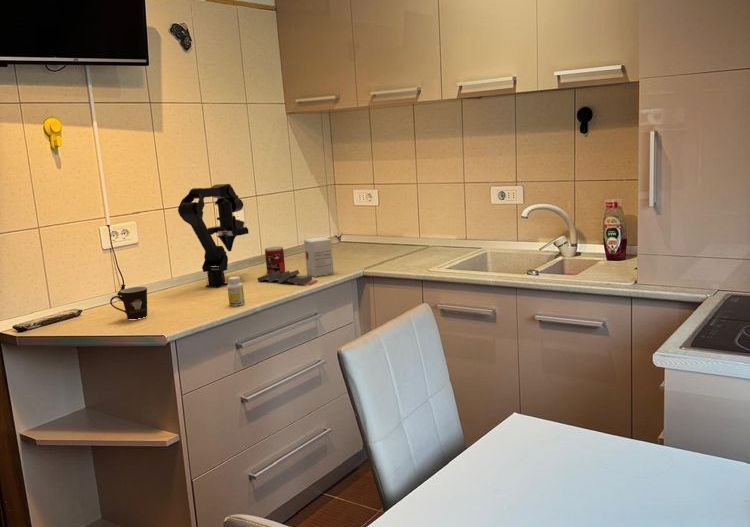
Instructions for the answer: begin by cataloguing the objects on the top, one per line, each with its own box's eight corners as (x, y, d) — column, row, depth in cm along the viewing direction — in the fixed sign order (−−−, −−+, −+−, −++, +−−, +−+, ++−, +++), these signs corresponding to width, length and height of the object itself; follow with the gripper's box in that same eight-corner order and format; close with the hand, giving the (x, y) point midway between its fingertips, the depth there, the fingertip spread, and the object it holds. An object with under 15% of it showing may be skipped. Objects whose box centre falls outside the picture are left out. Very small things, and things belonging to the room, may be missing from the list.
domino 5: (294, 285, 277) (310, 286, 273) (293, 281, 277) (310, 282, 273) (301, 282, 281) (317, 283, 277) (301, 278, 281) (317, 279, 277)
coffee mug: (153, 313, 244) (149, 286, 242) (146, 320, 236) (142, 291, 234) (120, 316, 244) (116, 288, 242) (111, 323, 236) (107, 294, 234)
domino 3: (279, 283, 280) (290, 276, 275) (277, 280, 280) (289, 272, 275) (287, 280, 284) (299, 273, 279) (286, 277, 284) (298, 269, 279)
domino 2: (268, 282, 284) (283, 277, 279) (267, 278, 284) (281, 273, 279) (276, 279, 288) (290, 274, 283) (275, 276, 288) (289, 270, 283)
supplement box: (306, 274, 295) (303, 239, 292) (325, 271, 299) (322, 236, 296) (314, 277, 287) (311, 241, 284) (334, 274, 291) (331, 238, 288)
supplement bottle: (238, 302, 253) (235, 275, 251) (247, 303, 250) (245, 276, 248) (226, 305, 249) (223, 278, 247) (236, 307, 246) (233, 279, 244)
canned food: (263, 274, 301) (261, 249, 299) (274, 270, 308) (272, 246, 306) (278, 275, 298) (275, 249, 296) (288, 271, 304) (286, 246, 302)
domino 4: (288, 282, 277) (303, 282, 272) (288, 278, 277) (303, 278, 272) (297, 279, 281) (312, 279, 276) (296, 275, 281) (311, 275, 276)
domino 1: (258, 281, 286) (272, 276, 282) (257, 278, 286) (271, 273, 282) (265, 279, 291) (280, 274, 286) (264, 275, 291) (278, 270, 286)
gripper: (255, 211, 292) (259, 248, 295) (223, 211, 302) (227, 247, 305) (237, 215, 283) (241, 253, 286) (204, 215, 293) (208, 251, 296)
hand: (229, 251), depth 294 cm, fingers closed
